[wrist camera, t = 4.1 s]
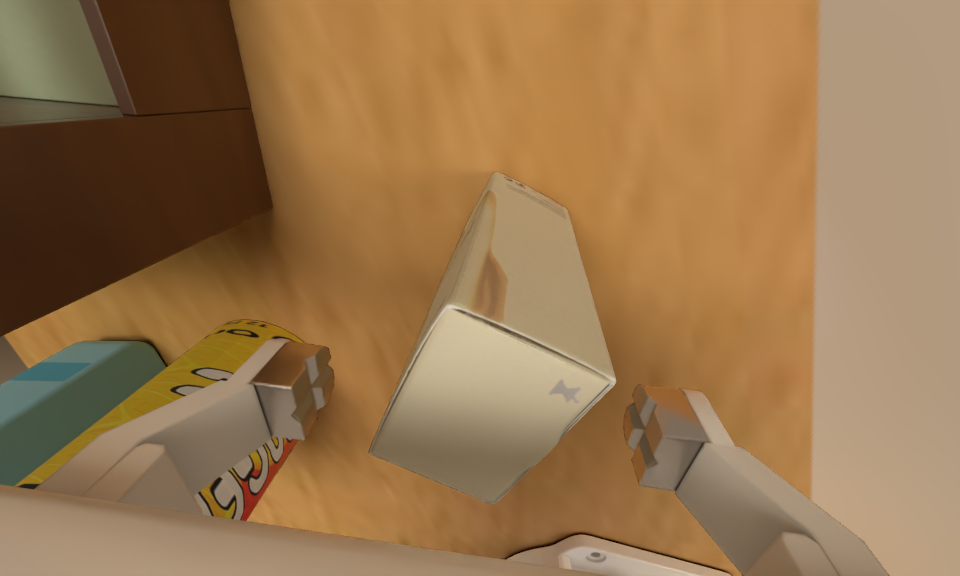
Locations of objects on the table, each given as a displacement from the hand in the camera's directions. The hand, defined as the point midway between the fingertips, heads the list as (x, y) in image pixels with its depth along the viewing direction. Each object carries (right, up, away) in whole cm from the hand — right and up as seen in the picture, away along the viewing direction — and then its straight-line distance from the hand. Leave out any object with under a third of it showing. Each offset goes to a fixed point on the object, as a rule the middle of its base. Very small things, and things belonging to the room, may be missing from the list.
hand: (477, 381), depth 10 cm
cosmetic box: (+1, +5, +10) cm, 11 cm away
